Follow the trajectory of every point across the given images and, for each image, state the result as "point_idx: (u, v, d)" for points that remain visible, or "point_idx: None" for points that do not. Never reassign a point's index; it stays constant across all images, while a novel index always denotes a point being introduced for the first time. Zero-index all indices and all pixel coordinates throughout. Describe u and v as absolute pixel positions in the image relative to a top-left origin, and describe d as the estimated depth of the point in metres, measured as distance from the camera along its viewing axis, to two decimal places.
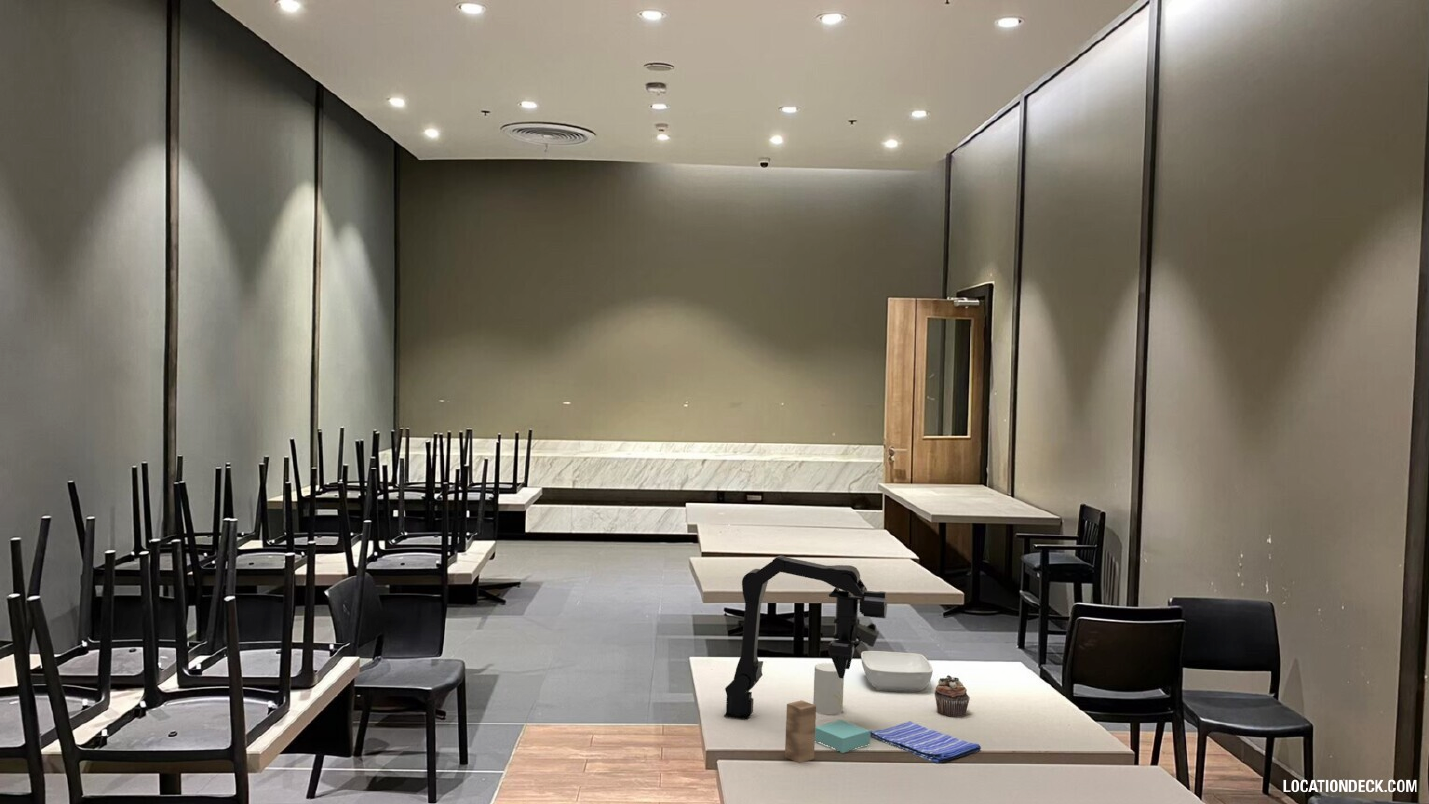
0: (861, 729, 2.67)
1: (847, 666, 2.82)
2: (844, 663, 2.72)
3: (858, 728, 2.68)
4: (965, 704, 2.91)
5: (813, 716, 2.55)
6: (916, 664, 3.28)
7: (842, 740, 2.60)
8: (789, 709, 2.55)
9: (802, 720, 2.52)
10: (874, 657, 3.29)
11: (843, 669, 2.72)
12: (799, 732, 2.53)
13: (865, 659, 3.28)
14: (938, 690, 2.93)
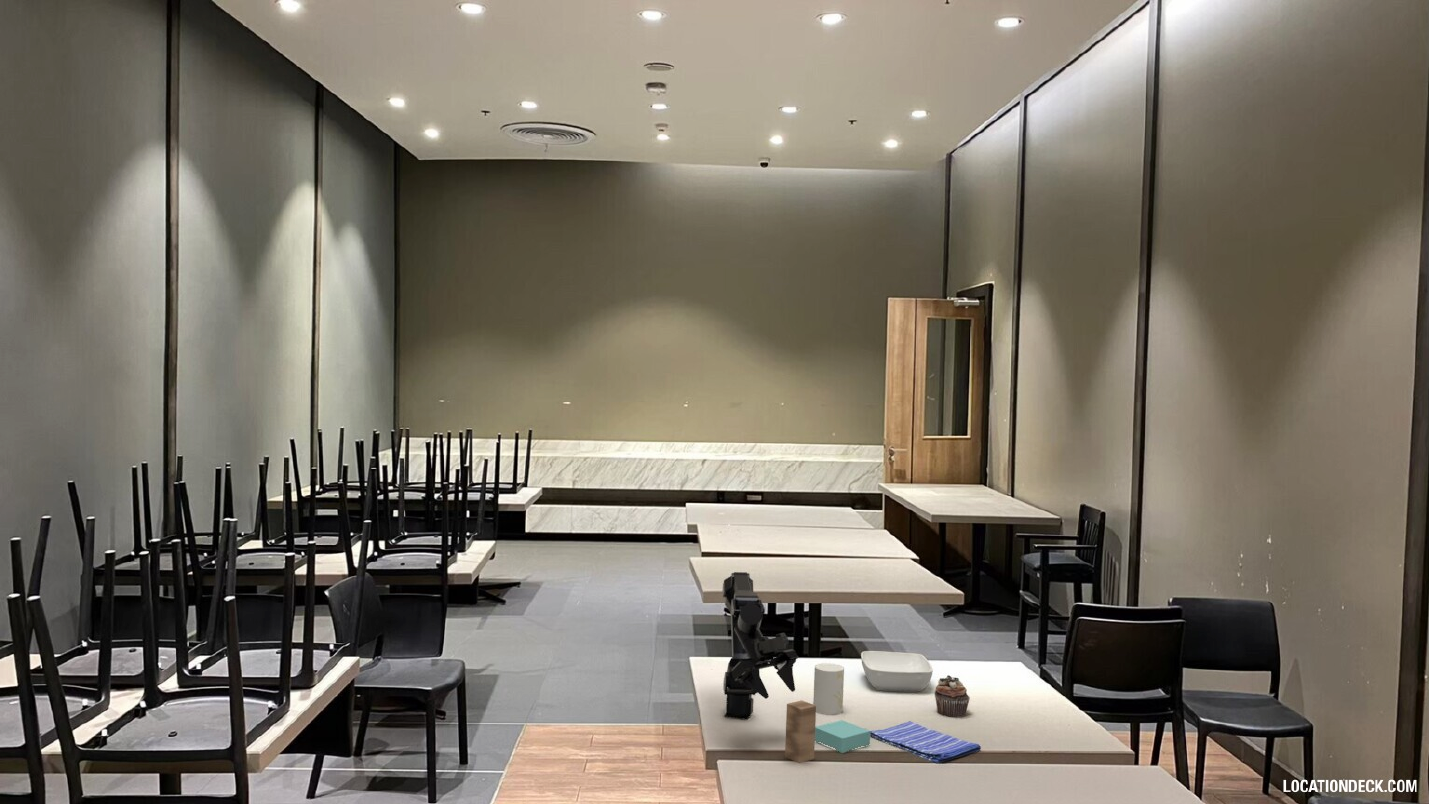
0: (861, 729, 2.67)
1: (792, 688, 2.65)
2: (757, 681, 2.60)
3: (858, 728, 2.68)
4: (965, 704, 2.91)
5: (813, 716, 2.55)
6: (916, 664, 3.28)
7: (841, 740, 2.60)
8: (789, 709, 2.55)
9: (802, 720, 2.52)
10: (874, 657, 3.29)
11: (760, 688, 2.59)
12: (799, 732, 2.53)
13: (865, 659, 3.28)
14: (938, 690, 2.93)
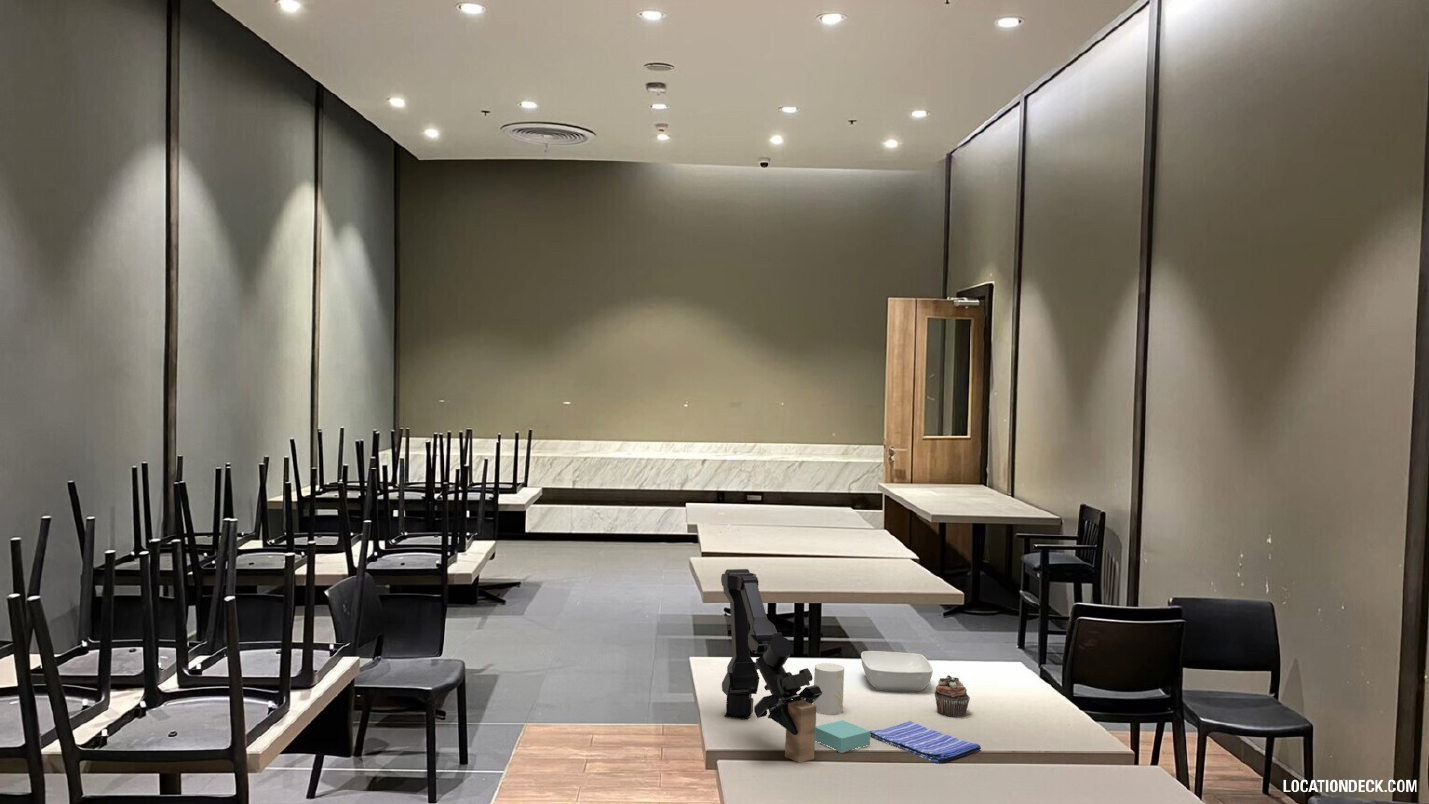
0: (861, 729, 2.67)
1: None
2: (785, 717, 2.54)
3: (858, 728, 2.68)
4: (965, 704, 2.91)
5: (813, 716, 2.55)
6: (916, 664, 3.28)
7: (840, 740, 2.60)
8: (789, 709, 2.55)
9: (802, 719, 2.52)
10: (874, 657, 3.29)
11: (789, 724, 2.53)
12: (799, 732, 2.53)
13: (865, 659, 3.28)
14: (938, 690, 2.93)
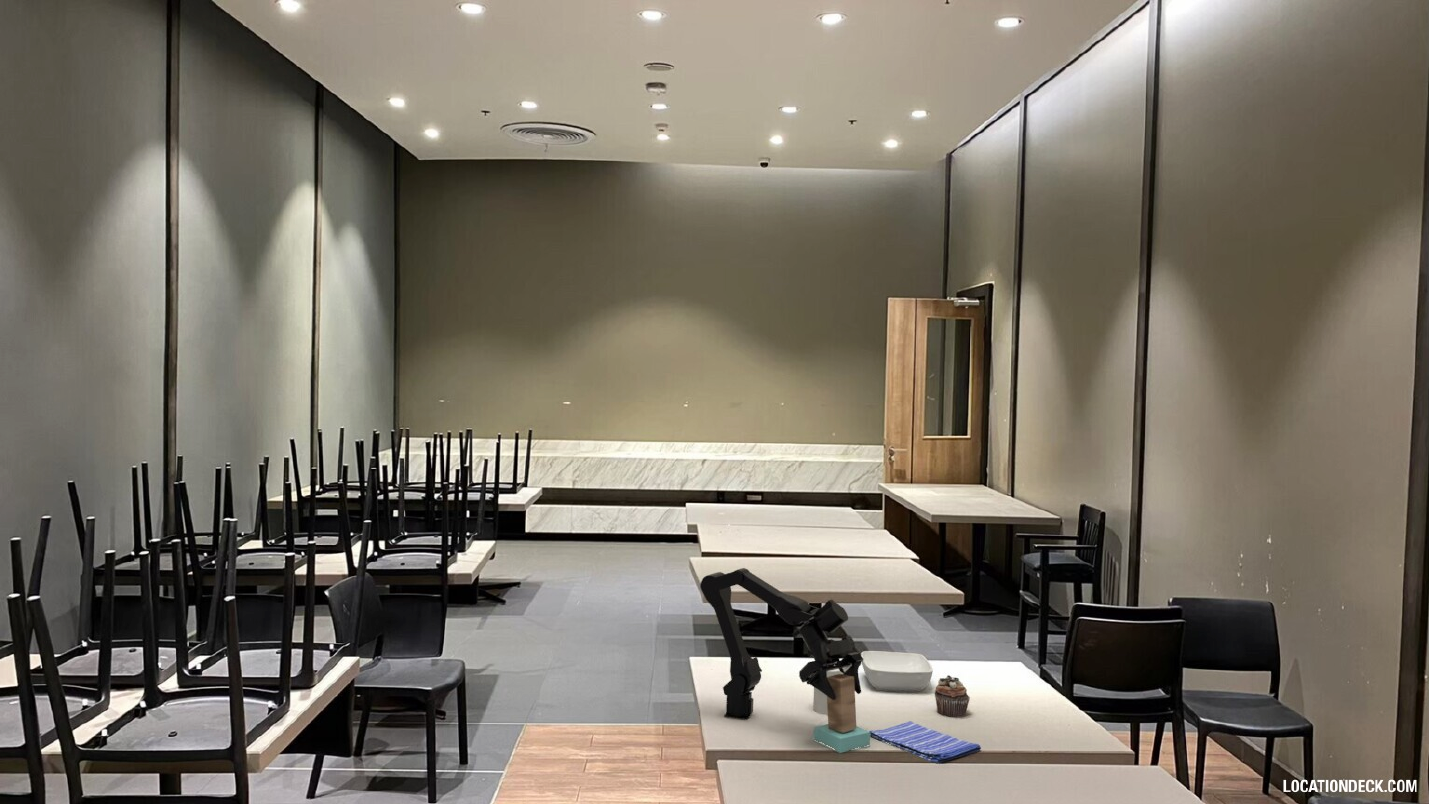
0: (861, 730, 2.67)
1: (858, 690, 2.69)
2: (824, 683, 2.64)
3: (858, 729, 2.68)
4: (965, 704, 2.91)
5: (852, 687, 2.66)
6: (916, 664, 3.28)
7: (839, 741, 2.60)
8: None
9: (841, 691, 2.64)
10: (874, 657, 3.29)
11: (828, 689, 2.63)
12: (840, 703, 2.64)
13: (865, 659, 3.28)
14: (938, 690, 2.93)
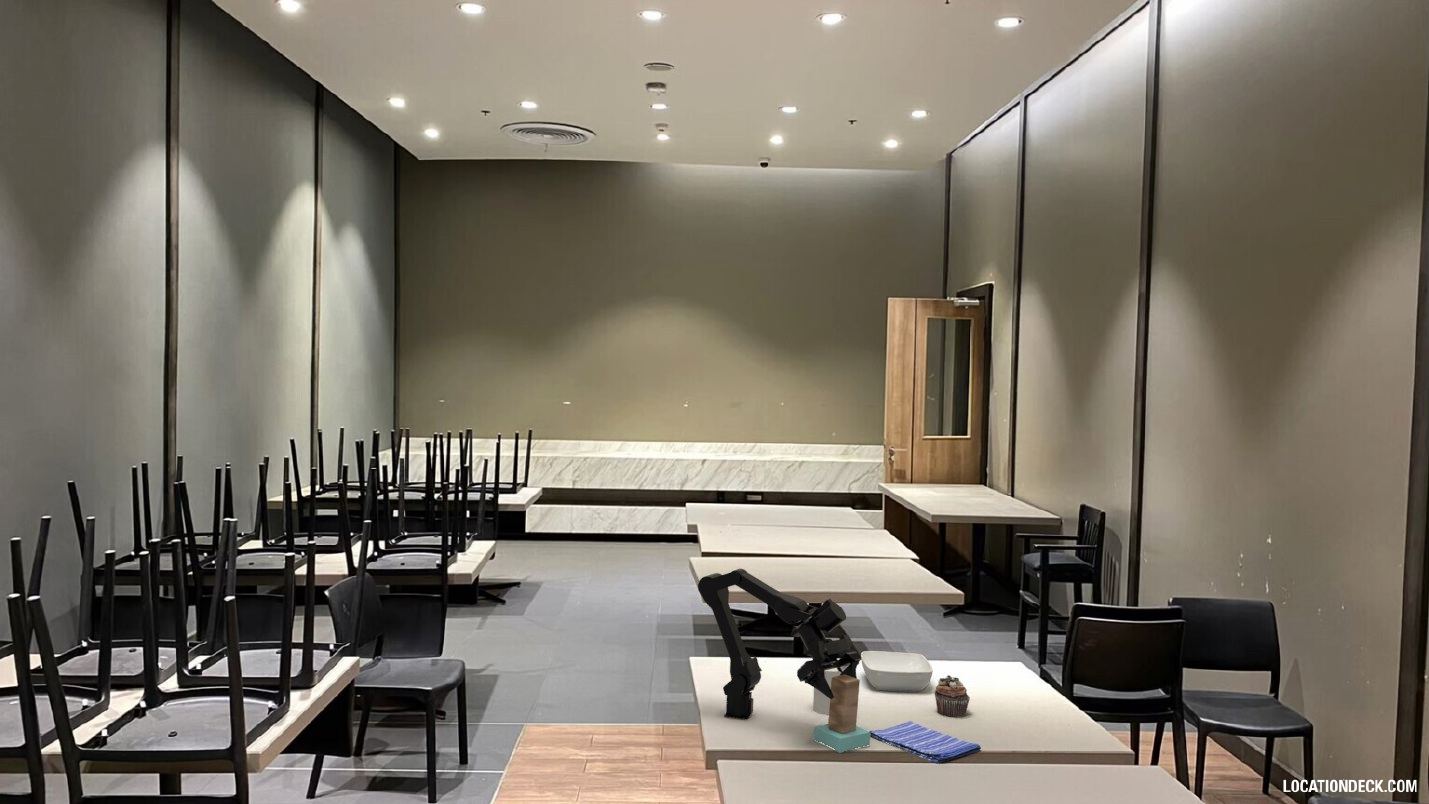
0: (861, 730, 2.67)
1: None
2: (822, 682, 2.64)
3: (858, 729, 2.68)
4: (965, 704, 2.91)
5: (857, 689, 2.66)
6: (916, 664, 3.28)
7: (839, 741, 2.60)
8: (834, 682, 2.66)
9: (847, 693, 2.63)
10: (874, 657, 3.29)
11: (826, 688, 2.64)
12: (844, 704, 2.63)
13: (865, 659, 3.28)
14: (938, 690, 2.93)
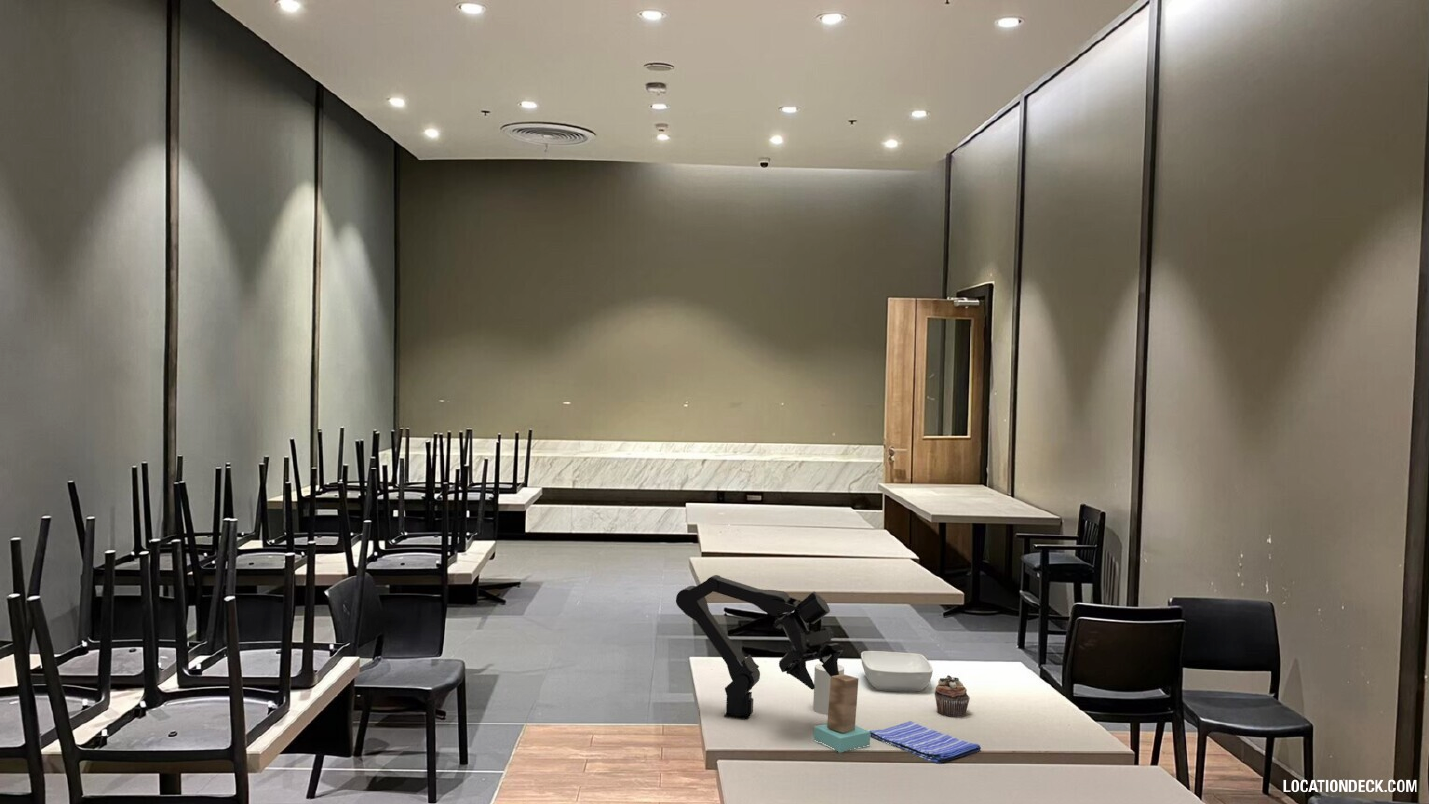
0: (861, 730, 2.67)
1: None
2: (803, 673, 2.69)
3: (858, 729, 2.68)
4: (965, 704, 2.91)
5: (856, 688, 2.67)
6: (916, 664, 3.28)
7: (839, 740, 2.60)
8: (833, 681, 2.66)
9: (846, 691, 2.64)
10: (874, 657, 3.29)
11: (807, 679, 2.69)
12: (843, 703, 2.64)
13: (865, 659, 3.28)
14: (938, 690, 2.93)
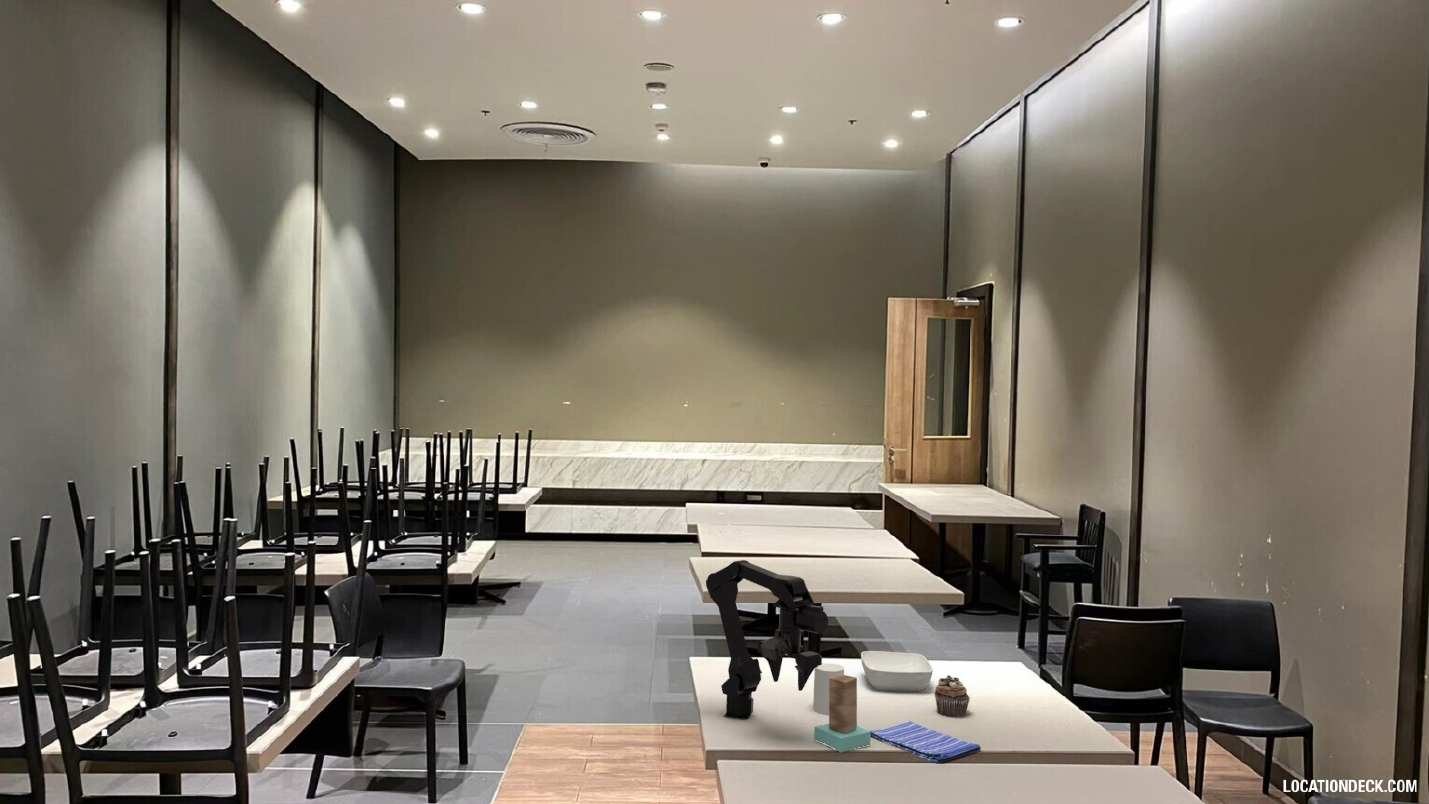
0: (862, 730, 2.67)
1: None
2: None
3: (859, 728, 2.68)
4: (965, 704, 2.91)
5: (855, 688, 2.66)
6: (916, 664, 3.28)
7: (839, 740, 2.61)
8: (832, 683, 2.66)
9: (846, 692, 2.63)
10: (874, 657, 3.29)
11: None
12: (844, 704, 2.63)
13: (865, 659, 3.28)
14: (938, 690, 2.93)
